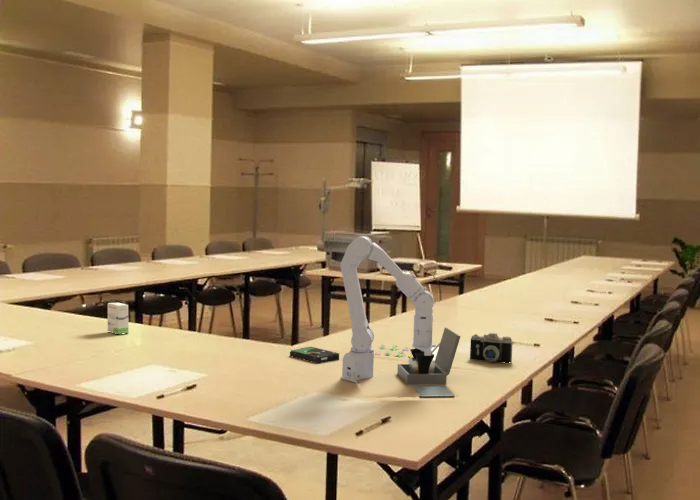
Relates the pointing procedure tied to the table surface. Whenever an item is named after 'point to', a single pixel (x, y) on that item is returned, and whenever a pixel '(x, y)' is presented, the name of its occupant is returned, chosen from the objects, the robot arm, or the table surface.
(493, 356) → the camera
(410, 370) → the module
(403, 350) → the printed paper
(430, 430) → the table surface
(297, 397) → the table surface
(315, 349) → the disk drive
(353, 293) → the robot arm
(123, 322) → the ink box
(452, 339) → the case
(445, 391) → the mat
